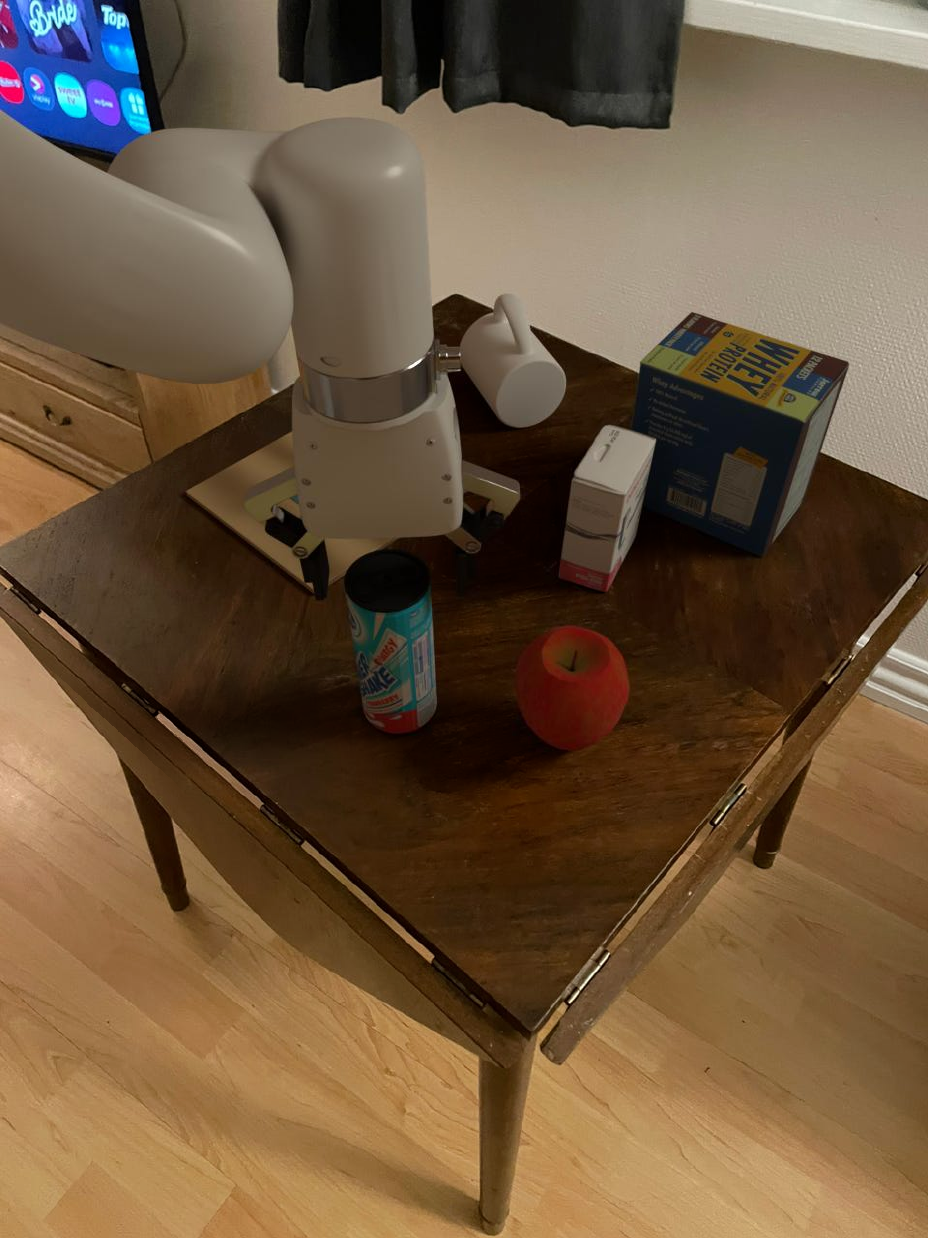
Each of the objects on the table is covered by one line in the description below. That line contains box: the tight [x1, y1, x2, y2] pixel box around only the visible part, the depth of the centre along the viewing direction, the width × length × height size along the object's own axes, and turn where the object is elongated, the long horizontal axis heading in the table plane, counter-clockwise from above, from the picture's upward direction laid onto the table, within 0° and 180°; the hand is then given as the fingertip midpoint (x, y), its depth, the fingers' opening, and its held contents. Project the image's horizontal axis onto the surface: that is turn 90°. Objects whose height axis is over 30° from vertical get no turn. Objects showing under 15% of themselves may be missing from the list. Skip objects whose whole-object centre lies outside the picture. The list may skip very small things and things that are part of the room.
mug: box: [459, 293, 567, 429], centre depth 99 cm, size 8×10×12 cm
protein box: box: [630, 311, 850, 558], centre depth 86 cm, size 10×15×16 cm
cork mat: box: [185, 431, 468, 594], centre depth 93 cm, size 20×20×1 cm
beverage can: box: [343, 548, 438, 736], centre depth 69 cm, size 6×6×15 cm
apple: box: [513, 624, 631, 752], centre depth 69 cm, size 9×8×11 cm
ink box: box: [558, 424, 656, 593], centre depth 82 cm, size 9×5×12 cm, turn 155°
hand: (392, 583), depth 64 cm, fingers open, 9 cm apart
